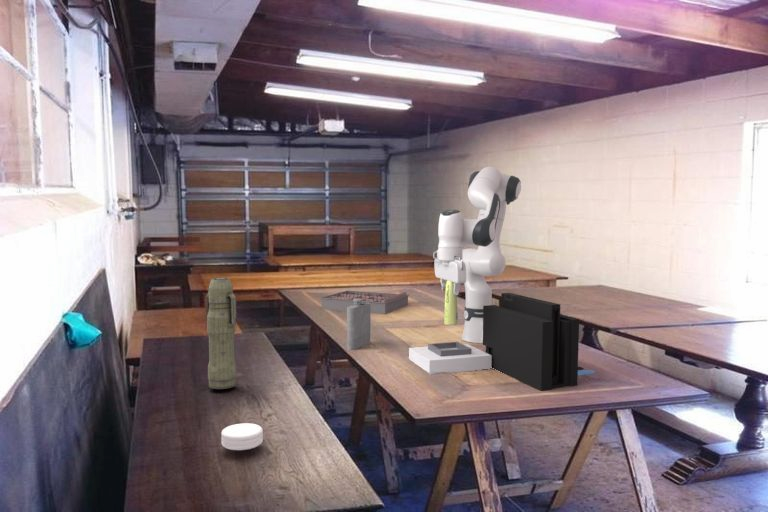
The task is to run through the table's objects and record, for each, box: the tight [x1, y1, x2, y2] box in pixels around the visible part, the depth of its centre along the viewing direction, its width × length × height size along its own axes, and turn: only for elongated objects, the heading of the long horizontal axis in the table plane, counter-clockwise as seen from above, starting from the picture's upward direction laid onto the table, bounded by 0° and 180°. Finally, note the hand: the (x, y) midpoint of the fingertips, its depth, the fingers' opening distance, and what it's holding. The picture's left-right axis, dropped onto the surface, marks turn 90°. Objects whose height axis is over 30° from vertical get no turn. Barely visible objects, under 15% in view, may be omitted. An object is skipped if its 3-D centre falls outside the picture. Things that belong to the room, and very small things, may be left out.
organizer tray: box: [320, 290, 410, 315], centre depth 349 cm, size 32×40×10 cm
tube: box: [443, 280, 459, 326], centre depth 228 cm, size 6×5×20 cm
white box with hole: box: [408, 341, 492, 376], centre depth 231 cm, size 24×20×7 cm
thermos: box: [205, 276, 237, 390], centre depth 204 cm, size 9×12×35 cm
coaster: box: [220, 422, 264, 451], centre depth 156 cm, size 10×10×4 cm
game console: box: [482, 292, 597, 391], centre depth 221 cm, size 35×30×27 cm
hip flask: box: [346, 299, 371, 351], centre depth 259 cm, size 16×4×20 cm, turn 152°
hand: (450, 292), depth 229 cm, fingers open, 8 cm apart
